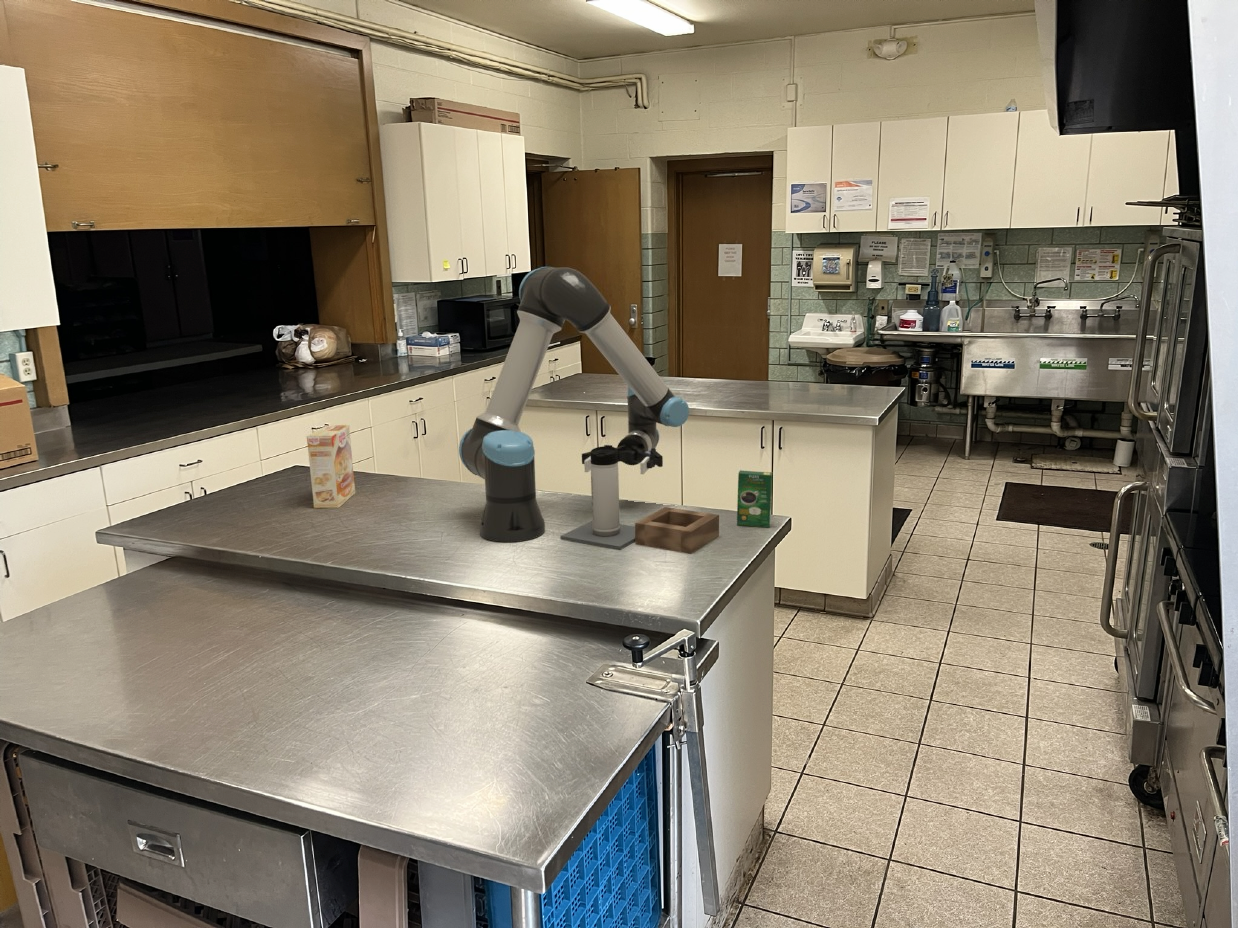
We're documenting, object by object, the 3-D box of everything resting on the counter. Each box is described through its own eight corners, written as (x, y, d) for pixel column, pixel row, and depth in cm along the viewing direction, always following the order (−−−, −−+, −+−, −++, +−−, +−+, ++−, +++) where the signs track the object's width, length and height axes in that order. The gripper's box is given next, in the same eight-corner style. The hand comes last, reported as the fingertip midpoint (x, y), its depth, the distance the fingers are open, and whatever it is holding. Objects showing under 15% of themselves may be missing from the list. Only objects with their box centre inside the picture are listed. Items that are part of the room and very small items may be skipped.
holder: (635, 544, 197) (634, 522, 196) (665, 527, 209) (665, 507, 208) (691, 553, 190) (691, 531, 189) (719, 535, 202) (719, 514, 201)
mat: (560, 539, 202) (560, 535, 202) (593, 523, 214) (593, 519, 213) (619, 549, 194) (619, 546, 194) (651, 532, 205) (651, 529, 205)
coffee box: (772, 524, 209) (773, 471, 206) (770, 528, 206) (771, 474, 203) (738, 522, 211) (738, 469, 208) (736, 526, 209) (736, 472, 206)
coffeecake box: (339, 508, 232) (332, 435, 227) (312, 508, 232) (304, 436, 227) (356, 493, 246) (350, 424, 242) (331, 493, 247) (324, 425, 242)
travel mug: (623, 529, 206) (621, 445, 201) (614, 537, 200) (612, 451, 195) (598, 527, 208) (596, 444, 203) (588, 535, 202) (585, 450, 197)
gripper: (682, 463, 225) (666, 485, 205) (588, 460, 231) (563, 481, 211) (681, 435, 223) (665, 453, 203) (587, 432, 229) (562, 450, 209)
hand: (613, 467), depth 207 cm, fingers open, 13 cm apart
